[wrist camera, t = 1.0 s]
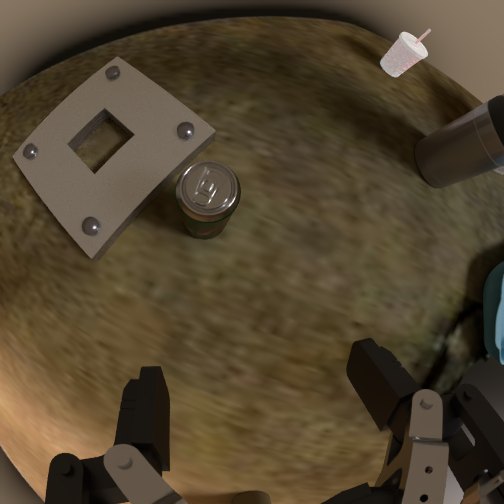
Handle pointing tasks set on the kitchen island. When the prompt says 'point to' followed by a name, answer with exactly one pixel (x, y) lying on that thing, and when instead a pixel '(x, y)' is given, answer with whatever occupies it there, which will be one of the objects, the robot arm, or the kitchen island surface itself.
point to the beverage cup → (404, 54)
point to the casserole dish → (494, 313)
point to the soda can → (207, 198)
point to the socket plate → (120, 164)
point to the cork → (252, 498)
